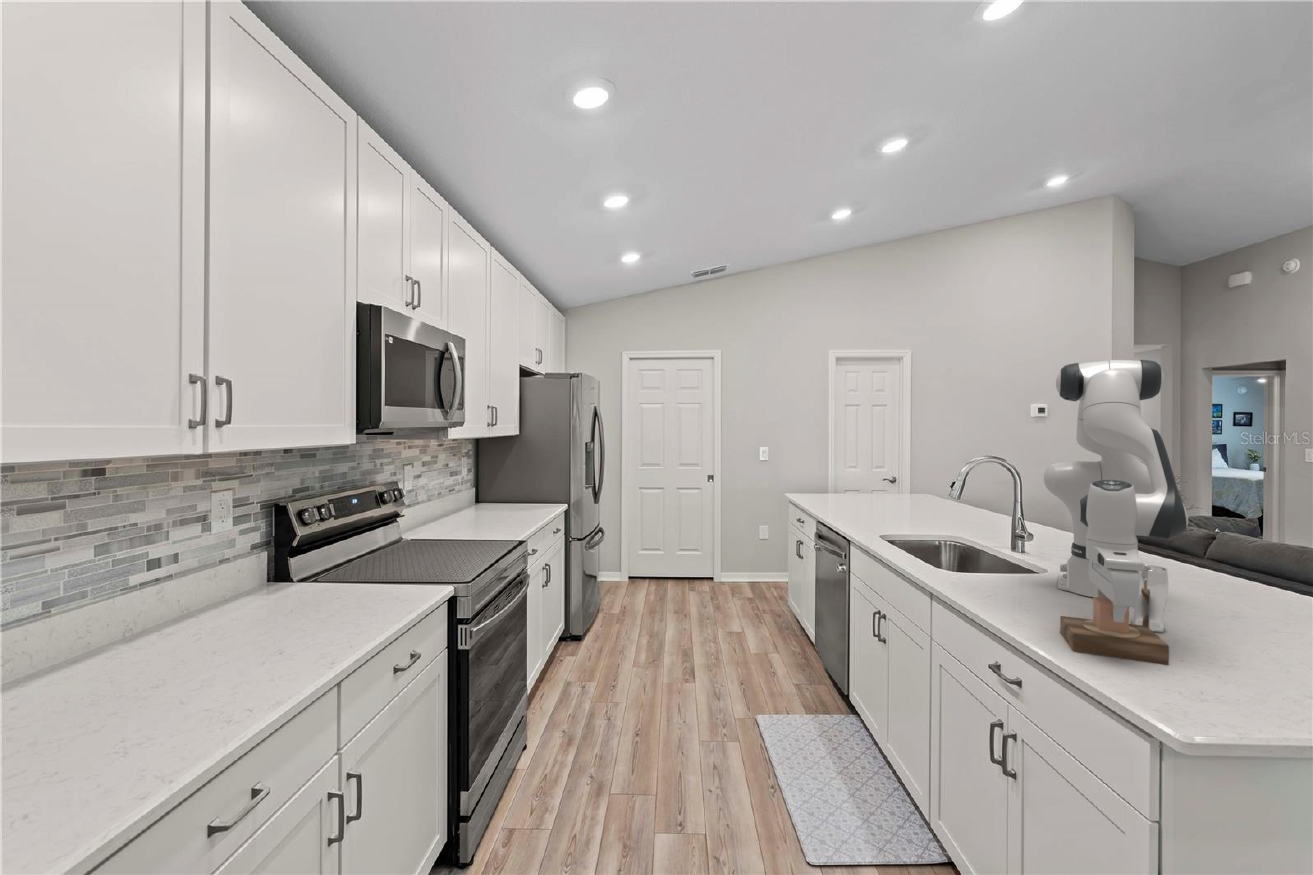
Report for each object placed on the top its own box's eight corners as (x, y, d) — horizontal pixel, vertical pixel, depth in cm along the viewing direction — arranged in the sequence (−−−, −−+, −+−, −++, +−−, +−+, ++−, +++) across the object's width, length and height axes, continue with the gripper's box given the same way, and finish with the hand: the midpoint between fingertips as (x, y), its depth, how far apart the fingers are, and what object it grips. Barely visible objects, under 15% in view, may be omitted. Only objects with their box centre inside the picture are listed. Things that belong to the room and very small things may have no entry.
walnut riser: (1060, 632, 129) (1060, 614, 129) (1146, 643, 122) (1146, 624, 122) (1073, 651, 118) (1073, 631, 118) (1168, 664, 111) (1168, 643, 111)
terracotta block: (1093, 622, 123) (1093, 596, 123) (1120, 625, 121) (1121, 599, 121) (1100, 629, 119) (1100, 603, 119) (1128, 633, 117) (1128, 606, 117)
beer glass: (1175, 634, 127) (1176, 571, 127) (1141, 632, 128) (1142, 570, 128) (1154, 623, 134) (1155, 564, 133) (1122, 622, 135) (1123, 563, 135)
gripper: (1080, 542, 130) (1080, 598, 131) (1107, 562, 112) (1107, 627, 112) (1113, 544, 128) (1113, 602, 128) (1146, 565, 109) (1146, 632, 110)
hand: (1110, 614), depth 120 cm, fingers open, 8 cm apart
